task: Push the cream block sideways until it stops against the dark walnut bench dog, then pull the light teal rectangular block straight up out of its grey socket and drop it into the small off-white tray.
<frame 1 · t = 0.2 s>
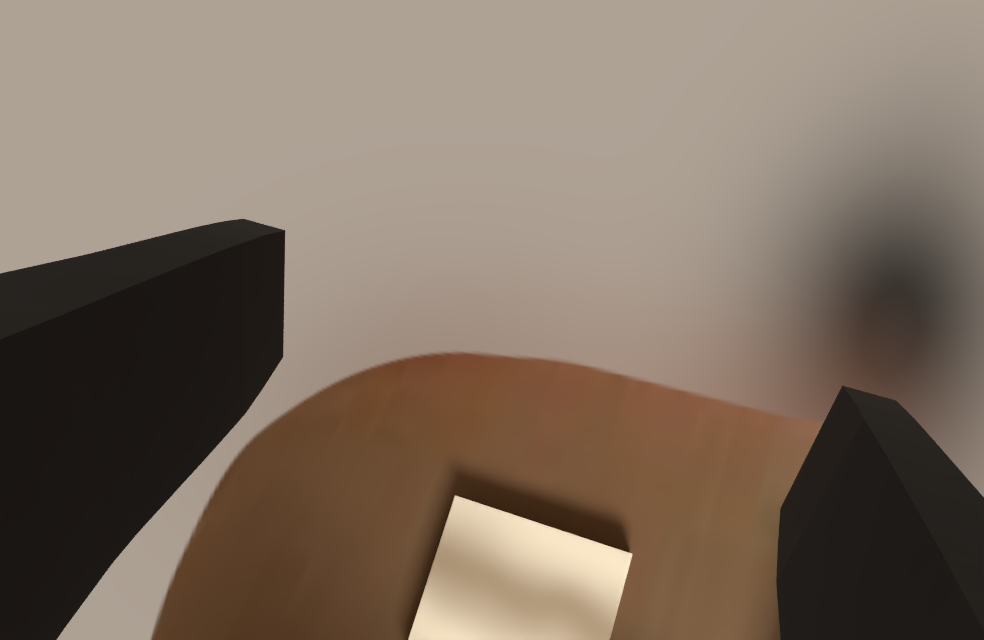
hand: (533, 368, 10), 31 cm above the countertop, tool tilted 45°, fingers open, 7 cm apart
cream block: (519, 603, 39), on the countertop
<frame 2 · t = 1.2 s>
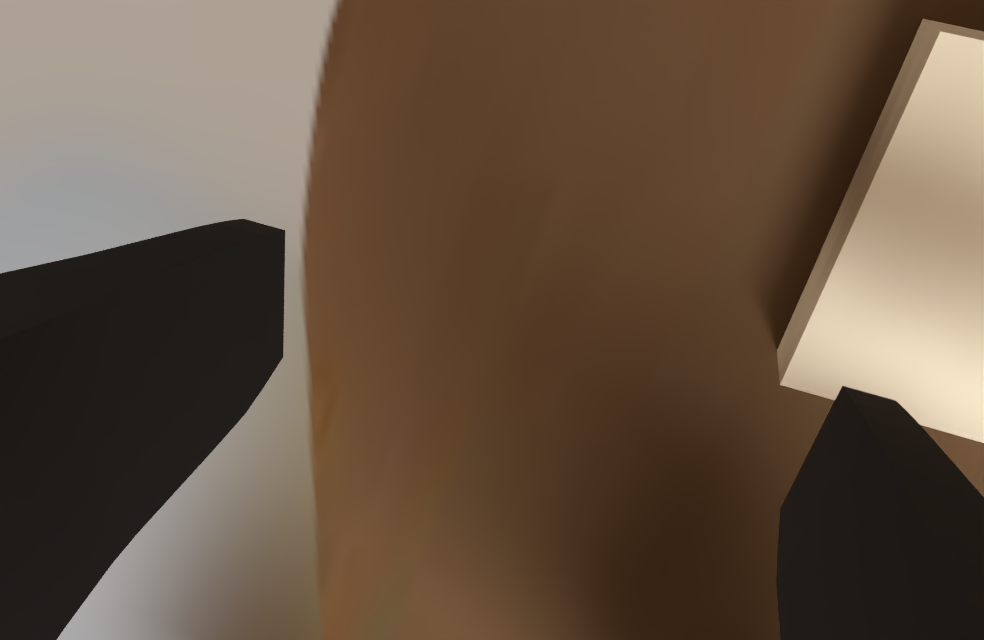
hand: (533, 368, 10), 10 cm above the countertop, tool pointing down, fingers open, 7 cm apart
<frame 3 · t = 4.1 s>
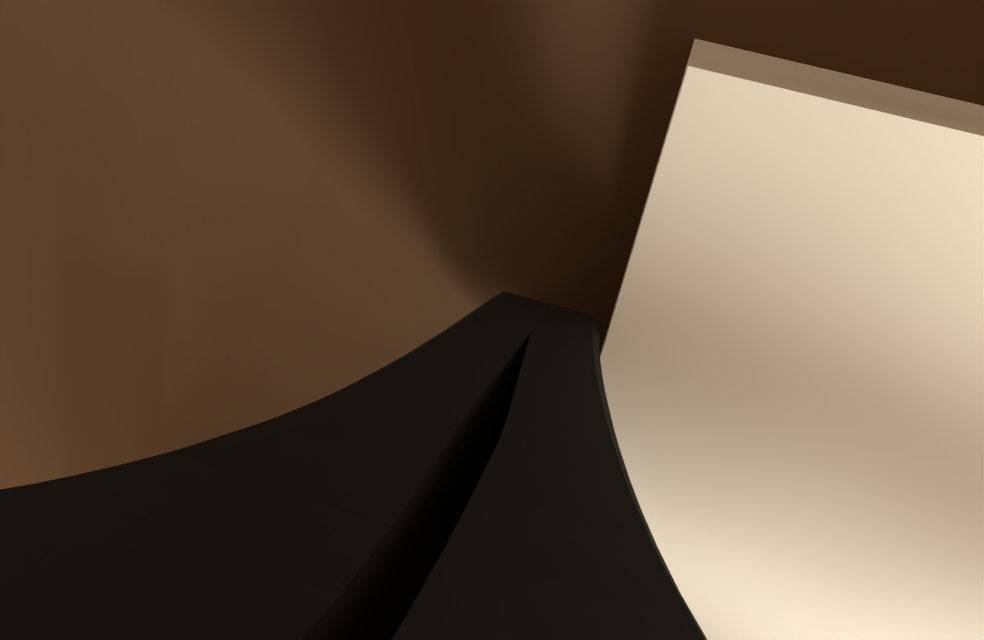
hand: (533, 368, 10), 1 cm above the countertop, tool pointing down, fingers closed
cream block: (932, 408, 11), on the countertop, touching gripper
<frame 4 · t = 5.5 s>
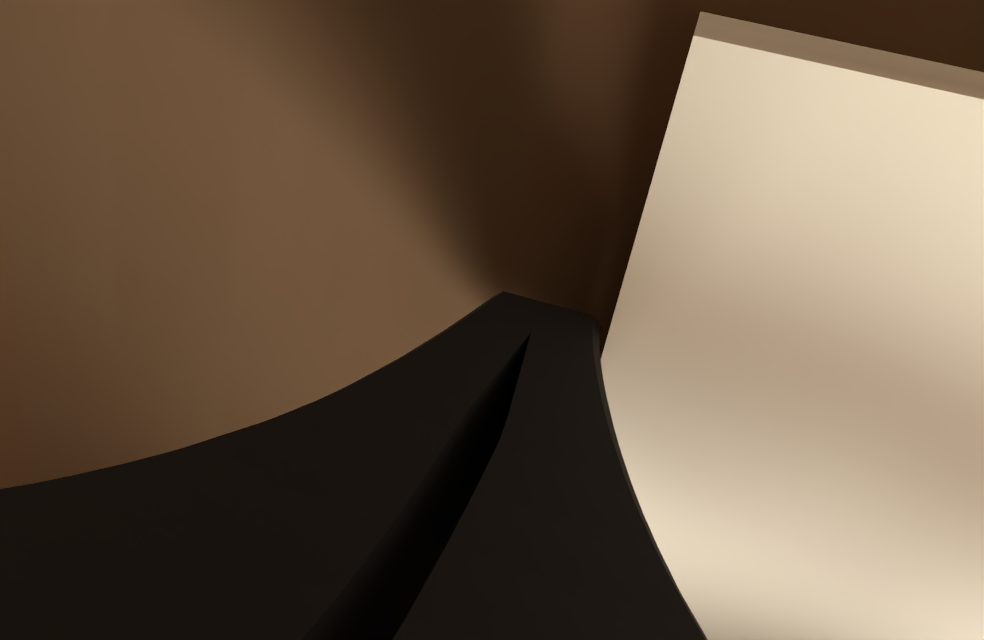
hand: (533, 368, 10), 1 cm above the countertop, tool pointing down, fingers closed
cream block: (946, 392, 10), on the countertop, touching gripper
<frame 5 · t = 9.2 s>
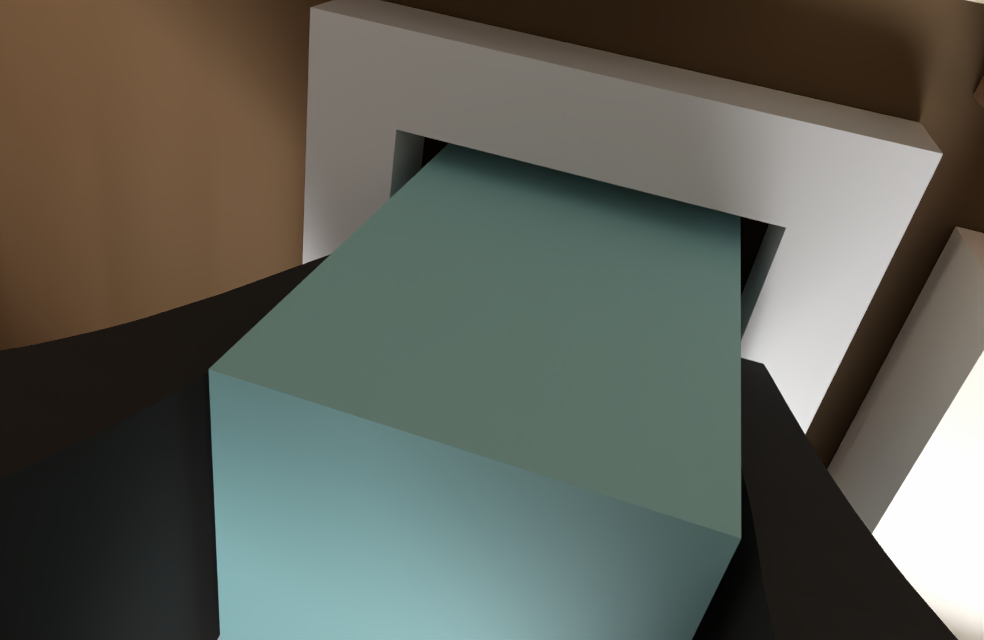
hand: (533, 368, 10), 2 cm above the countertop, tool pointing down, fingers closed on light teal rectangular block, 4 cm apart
light teal rectangular block: (562, 298, 12), resting in socket block, touching gripper
socket block: (561, 300, 12), on the countertop
when the fingers open (3 cm above the countertop, at t = 13.4 s): light teal rectangular block stays where it is, resting on tray.
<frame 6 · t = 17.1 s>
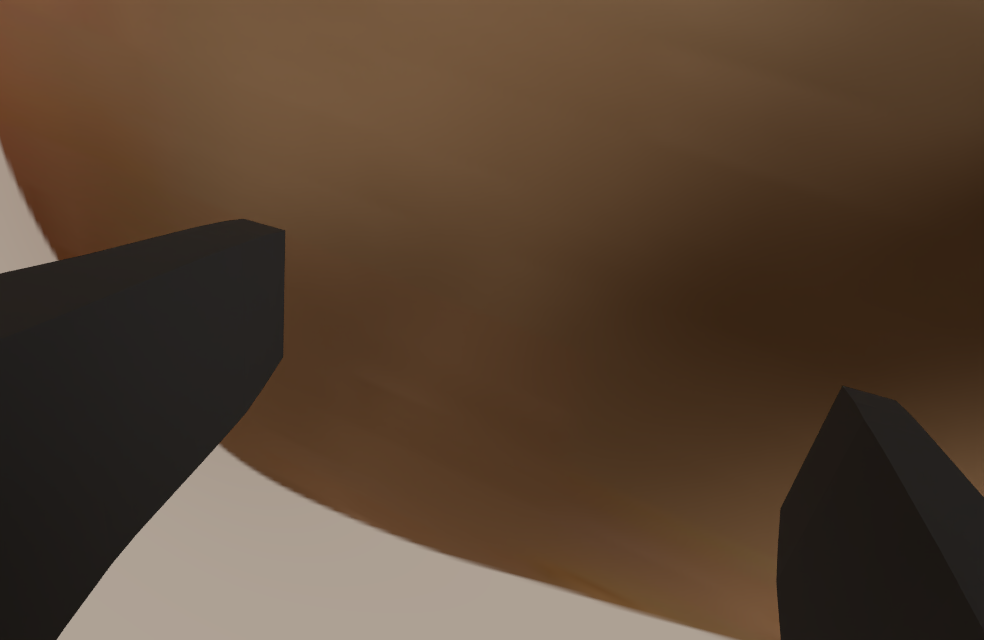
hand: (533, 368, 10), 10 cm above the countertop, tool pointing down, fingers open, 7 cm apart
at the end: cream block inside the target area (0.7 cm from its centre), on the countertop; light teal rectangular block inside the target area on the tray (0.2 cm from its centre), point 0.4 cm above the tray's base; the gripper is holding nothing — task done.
